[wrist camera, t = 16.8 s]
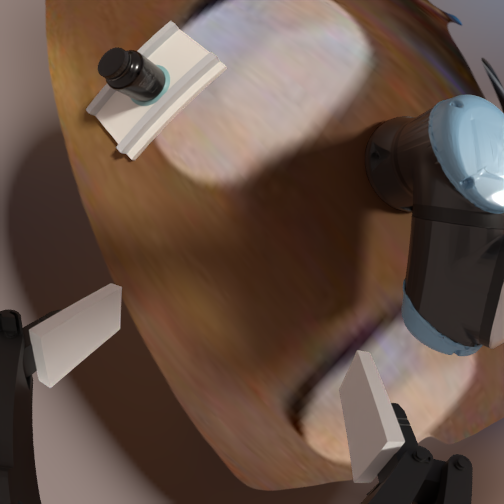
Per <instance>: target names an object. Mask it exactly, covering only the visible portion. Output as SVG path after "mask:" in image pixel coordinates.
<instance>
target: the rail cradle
mask: <svg viewBox="0 0 504 504" xmlns="http://www.w3.org/2000/svg"><path fill="white" fill-rule="evenodd" d="M137 52H139V53H141V54H142V55H143V56H145V57H146V58H147V59H149V60H150V61H151V62H153V63H154V64H155V65H156V66H158V67H159V68H160V69H161V70H162V71H163V72H164V74H165V78H166V82H165V86H164V88H163V90H162V92H161V93H160V94H159V95H158V96H157V97H156V98H154V99H153V100H151V101H147V102H140V101H137V100H135V99H133V98H131V97H129V96H126V95H124V94H122V93H120V92H118V91H116V90H114V89H112V88H111V87H109V85H108V84H106V85H105V86H104V87H103V89H102V90H101V91H100V92H99V93H98V95H97V96H96V97H95V98H94V100H93V101H92V102H91V103H90V105H89V106H88V107H87V108H86V110H87V112H88V113H89V114H91V115H95V116H96V117H97V118H98V120H99V121H100V122H101V123H102V125H103V126H104V127H105V128H106V129H107V131H108V132H109V133H110V134H111V136H112V137H113V138H114V139H115V140H116V142H117V143H118V145H117V147H116V148H117V149H118V150H119V152H120V153H124V154H127V155H128V156H129V157H130V159H131V160H136V159H137V157H138V156H139V155H140V154H141V153H142V152H143V151H144V149H145V148H146V147H147V146H148V145H149V144H150V143H151V142H152V141H153V139H154V138H155V137H156V136H157V135H158V134H159V133H160V132H161V131H162V130H163V129H164V128H165V127H166V126H167V125H168V124H169V123H170V122H171V121H172V120H173V119H174V118H175V117H176V116H177V115H178V114H179V113H180V112H181V111H182V110H183V109H184V108H185V107H186V106H187V105H188V104H189V103H190V102H191V101H192V100H193V99H194V98H195V97H196V96H197V95H198V94H199V93H201V92H202V91H203V90H204V89H205V88H206V87H207V86H208V85H209V84H211V83H212V82H213V81H214V80H215V79H216V78H217V77H219V76H220V75H221V74H222V73H223V72H224V71H226V70H227V67H226V66H225V65H224V64H223V63H222V62H220V60H219V59H218V57H217V56H216V55H215V54H214V53H213V52H208V51H207V50H206V49H205V48H203V47H202V46H201V45H199V44H198V43H197V42H196V41H194V40H193V39H192V38H190V37H189V36H188V35H186V34H185V33H184V32H182V31H181V30H180V29H179V28H178V27H177V26H176V24H174V23H173V22H171V21H170V22H169V23H167V24H166V25H165V26H164V27H163V28H162V29H161V30H159V31H158V32H157V33H156V34H155V35H154V36H153V37H152V38H151V39H149V40H148V41H147V42H146V43H145V44H144V45H143V46H142V47H141V48H140V49H139V50H138V51H137Z"/></svg>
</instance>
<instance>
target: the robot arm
mask: <svg viewBox="0 0 504 504" xmlns="http://www.w3.org/2000/svg"><path fill="white" fill-rule="evenodd" d="M365 167H366V172H367V176H368V179H369V181H370V183H371V185H372V187H373V189H374V190H375V192H376V193H377V195H378V196H379V197H380V198H381V199H382V200H383V201H384V202H386V203H387V204H388V205H390V206H392V207H393V208H395V209H398V210H401V211H406V212H412V221H411V234H410V245H409V255H408V263H407V271H406V278H405V279H404V282H403V292H404V295H403V303H402V317H403V319H404V323H405V325H406V327H407V329H408V330H409V331H410V333H411V334H412V335H413V336H414V337H415V338H416V339H417V340H419V341H420V342H421V343H423V344H424V345H426V346H428V347H429V348H431V349H433V350H436V351H438V352H441V353H444V354H448V355H452V354H453V353H455V354H457V355H458V356H468V355H471V354H473V353H476V352H477V351H478V350H479V349H480V348H481V347H482V346H483V345H484V346H486V347H489V348H492V349H493V348H495V347H497V346H498V345H500V344H502V343H503V342H504V114H503V113H502V112H501V111H500V110H499V109H498V108H497V107H496V106H494V105H493V104H492V103H490V102H489V101H487V100H485V99H483V98H481V97H478V96H474V95H460V96H456V97H454V98H451V99H447V100H443V101H440V102H439V103H437V104H436V105H435V106H434V107H433V108H431V109H430V110H428V111H426V112H425V113H423V114H421V115H420V116H418V117H416V118H414V117H407V116H404V117H397V118H393V119H391V120H388V121H387V122H385V123H384V124H382V125H381V126H380V127H378V128H377V129H376V130H375V131H374V133H373V134H372V136H371V137H370V139H369V141H368V144H367V147H366V152H365ZM121 295H122V287H121V286H118V285H115V284H112V283H110V284H109V285H107V286H105V287H103V288H101V289H99V290H98V291H96V292H94V293H92V294H91V295H89V296H87V297H85V298H83V299H81V300H80V301H78V302H76V303H74V304H72V305H71V306H69V307H67V308H65V309H64V310H56V311H53V312H50V313H48V314H46V315H45V316H43V317H41V318H40V319H39V320H36V321H34V322H32V323H31V324H29V325H27V326H25V327H24V328H22V322H21V315H20V314H19V313H18V312H17V311H15V310H3V311H0V504H41V500H40V495H39V489H38V484H37V476H36V468H35V459H34V446H33V427H32V394H33V393H32V392H33V377H32V374H33V373H34V372H35V371H37V374H38V378H39V381H41V382H42V383H43V384H45V385H47V386H48V387H49V388H51V387H52V386H54V384H56V383H57V382H58V381H59V380H61V379H62V378H63V377H64V376H65V375H66V374H67V373H69V372H70V371H71V370H72V369H73V368H74V367H76V366H77V365H78V364H79V363H80V362H81V361H83V360H84V359H85V358H86V357H87V356H89V355H90V354H91V353H92V352H93V351H94V350H96V349H97V348H98V347H99V346H100V345H102V344H103V343H104V342H105V341H106V340H107V339H109V338H110V337H111V336H112V335H113V334H114V333H116V332H117V331H118V330H119V329H120V317H121V316H120V315H121ZM339 392H340V398H341V403H342V409H343V414H344V420H345V426H346V432H347V438H348V445H349V451H350V458H351V465H352V472H353V479H354V483H371V482H372V481H373V479H374V478H375V477H376V476H377V475H378V479H379V483H378V484H377V485H376V486H375V487H374V488H373V489H372V490H371V491H370V492H369V493H368V494H367V497H366V498H365V499H364V500H363V502H361V504H411V503H412V504H471V496H472V464H471V462H470V461H469V459H468V458H466V457H465V456H463V455H459V454H456V455H453V456H451V457H450V458H449V460H448V461H447V462H445V461H440V460H435V459H433V456H432V454H431V453H430V451H429V450H427V449H426V448H424V447H421V446H418V443H417V441H416V438H415V436H414V433H413V431H412V428H411V426H410V423H409V421H408V420H407V416H406V414H405V411H404V410H403V409H402V408H401V407H400V405H399V404H396V403H391V402H390V400H389V397H388V395H387V392H386V390H385V387H384V385H383V382H382V380H381V377H380V375H379V373H378V370H377V368H376V365H375V363H374V361H373V358H372V356H371V354H370V352H364V351H359V350H357V352H356V354H355V357H354V359H353V361H352V363H351V366H350V368H349V370H348V372H347V374H346V376H345V379H344V381H343V383H342V385H341V387H340V389H339Z"/></svg>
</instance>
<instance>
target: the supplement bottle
mask: <svg viewBox="0 0 504 504" xmlns="http://www.w3.org/2000/svg"><path fill="white" fill-rule="evenodd" d="M98 71H99V74H100V75H101V76H103V77H105V78H106V82H107V84H108V85H109V87H111V88H112V89H114V90H116V91H118V92H120V93H122V94H124V95H126V96H129V97H131V98H133V99H135V100H137V101H140V102H147V101H151V100H153V99H154V98H156V97H157V96H158V95H159V94H160V93H161V92H162V90H163V88H164V86H165V82H166V78H165V74H164V72H163V71H162V70H161V69H160V68H159V67H158V66H156V65H155V64H154V63H153V62H151V61H150V60H149V59H147V58H146V57H145V56H143V55H142V54H141V53H139V52H137V51H134V50H129V51H125V50H123V49H122V48H113V49H110V50H109V51H107V52H106V53H105V54H104V55H103V57H102V58H101V60H100V62H99V65H98Z"/></svg>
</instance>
